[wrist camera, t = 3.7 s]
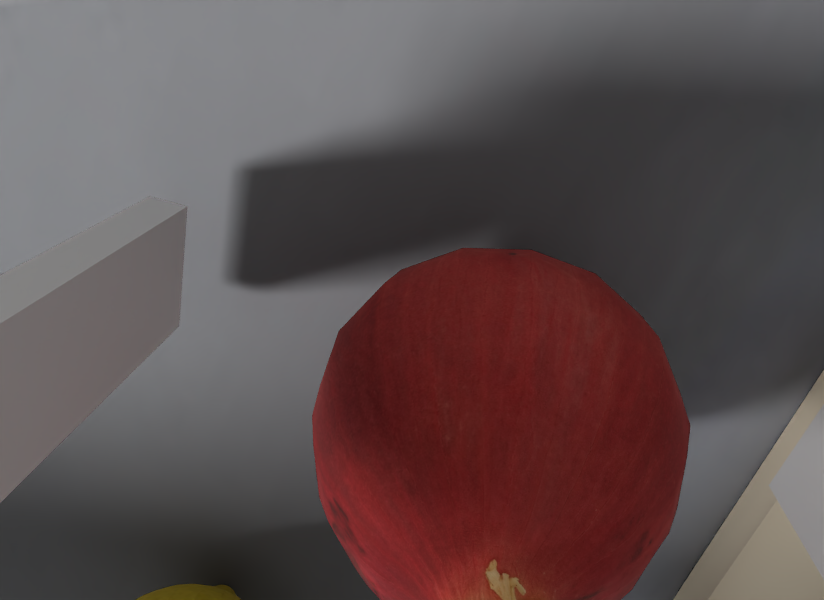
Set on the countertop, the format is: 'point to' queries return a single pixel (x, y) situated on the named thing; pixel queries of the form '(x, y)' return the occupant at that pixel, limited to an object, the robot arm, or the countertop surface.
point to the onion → (499, 433)
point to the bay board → (761, 536)
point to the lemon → (192, 593)
